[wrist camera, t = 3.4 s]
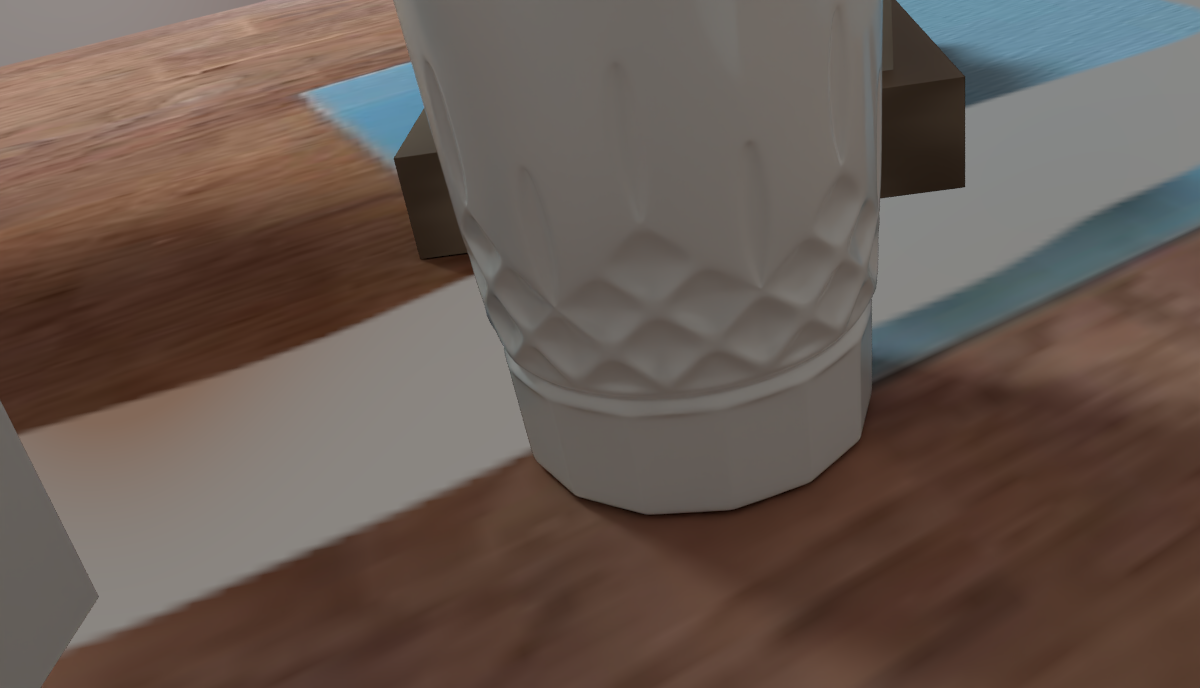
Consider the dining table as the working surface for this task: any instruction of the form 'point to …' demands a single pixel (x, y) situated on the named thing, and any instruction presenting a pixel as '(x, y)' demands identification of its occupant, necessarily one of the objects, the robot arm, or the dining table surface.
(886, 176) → the block stand
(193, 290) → the dining table surface
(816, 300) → the white cup
